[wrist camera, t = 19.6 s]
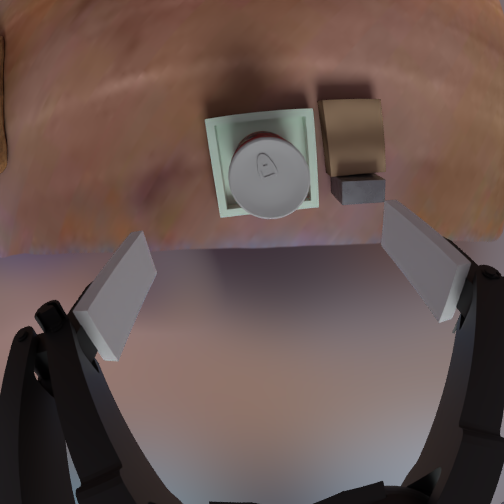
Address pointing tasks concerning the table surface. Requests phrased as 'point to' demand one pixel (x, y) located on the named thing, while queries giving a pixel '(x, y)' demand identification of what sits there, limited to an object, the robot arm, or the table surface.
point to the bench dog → (358, 188)
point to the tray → (240, 125)
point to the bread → (0, 138)
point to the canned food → (268, 175)
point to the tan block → (352, 136)
